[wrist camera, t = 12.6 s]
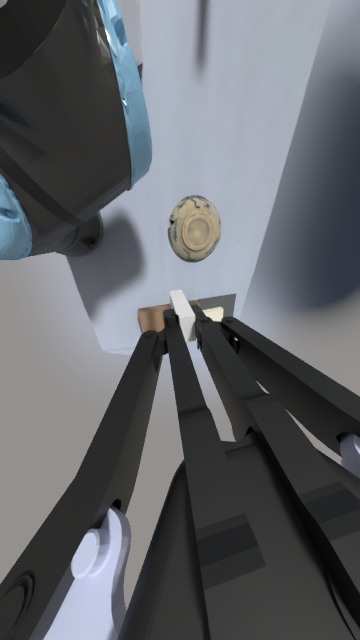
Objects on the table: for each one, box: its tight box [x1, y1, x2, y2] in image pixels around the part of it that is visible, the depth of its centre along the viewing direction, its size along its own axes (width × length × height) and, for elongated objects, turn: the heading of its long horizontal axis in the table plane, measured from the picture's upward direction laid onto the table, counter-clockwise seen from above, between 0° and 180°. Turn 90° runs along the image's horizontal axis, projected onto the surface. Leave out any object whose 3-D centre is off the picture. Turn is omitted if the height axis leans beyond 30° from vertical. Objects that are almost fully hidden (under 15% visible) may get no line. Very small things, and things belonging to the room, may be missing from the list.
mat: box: [198, 294, 236, 317], centre depth 52 cm, size 14×14×1 cm
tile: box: [202, 307, 223, 321], centre depth 51 cm, size 9×6×2 cm, turn 97°
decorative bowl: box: [168, 195, 221, 261], centre depth 36 cm, size 15×4×15 cm
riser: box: [138, 300, 200, 338], centre depth 49 cm, size 20×14×4 cm
